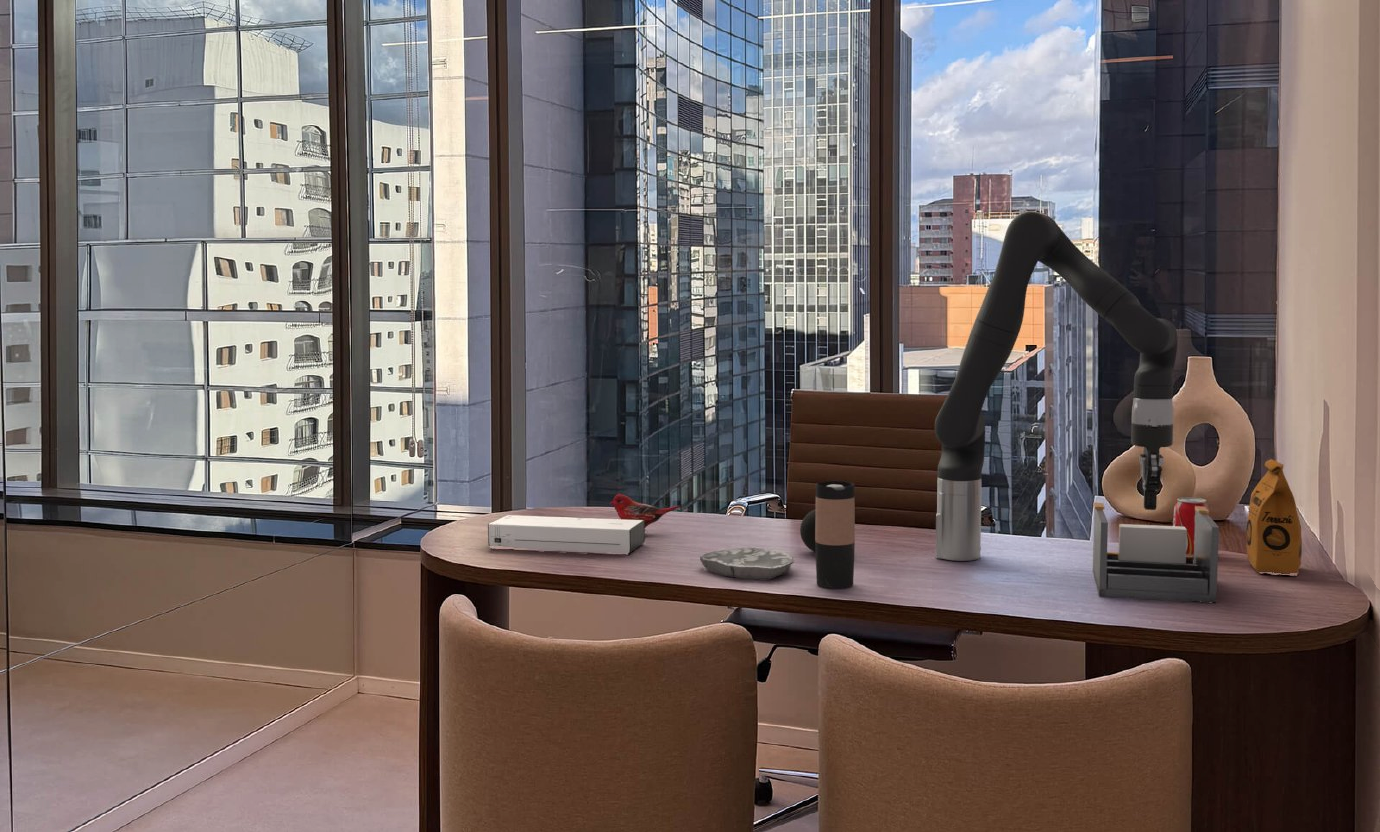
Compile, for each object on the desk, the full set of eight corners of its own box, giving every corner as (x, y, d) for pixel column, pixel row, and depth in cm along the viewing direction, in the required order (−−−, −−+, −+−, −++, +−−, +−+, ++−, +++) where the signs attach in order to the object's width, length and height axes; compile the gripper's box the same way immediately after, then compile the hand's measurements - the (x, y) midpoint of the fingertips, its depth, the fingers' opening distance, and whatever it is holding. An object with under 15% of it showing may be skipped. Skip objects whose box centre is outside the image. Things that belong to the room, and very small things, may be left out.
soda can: (1187, 559, 238) (1189, 503, 236) (1165, 552, 244) (1166, 497, 243) (1215, 556, 239) (1217, 501, 238) (1192, 549, 246) (1194, 495, 245)
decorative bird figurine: (608, 534, 270) (608, 493, 269) (679, 529, 275) (678, 489, 274) (611, 537, 267) (610, 495, 266) (682, 531, 272) (682, 491, 271)
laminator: (645, 546, 258) (644, 519, 257) (629, 558, 246) (628, 530, 246) (508, 540, 266) (507, 514, 266) (486, 551, 255) (485, 524, 254)
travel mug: (828, 577, 225) (828, 479, 223) (861, 583, 220) (862, 483, 218) (807, 585, 219) (807, 484, 217) (841, 591, 214) (841, 488, 212)
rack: (1097, 596, 209) (1099, 519, 207) (1091, 571, 228) (1092, 501, 226) (1218, 603, 203) (1221, 524, 201) (1201, 577, 222) (1203, 505, 221)
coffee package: (1246, 574, 224) (1251, 465, 221) (1243, 561, 235) (1247, 457, 233) (1303, 579, 220) (1308, 468, 217) (1297, 565, 231) (1302, 459, 229)
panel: (1119, 571, 221) (1120, 526, 220) (1118, 568, 224) (1119, 523, 223) (1185, 575, 218) (1186, 529, 217) (1183, 571, 221) (1184, 526, 220)
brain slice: (810, 567, 235) (810, 553, 235) (774, 585, 221) (774, 570, 220) (728, 557, 245) (728, 544, 245) (688, 574, 230) (688, 560, 230)
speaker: (793, 555, 245) (793, 510, 244) (810, 546, 254) (810, 502, 253) (836, 559, 241) (836, 513, 240) (852, 550, 250) (852, 506, 249)
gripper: (1128, 417, 225) (1126, 502, 227) (1134, 424, 213) (1132, 514, 214) (1168, 418, 223) (1166, 504, 225) (1177, 425, 211) (1174, 516, 212)
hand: (1149, 509), depth 220 cm, fingers closed
